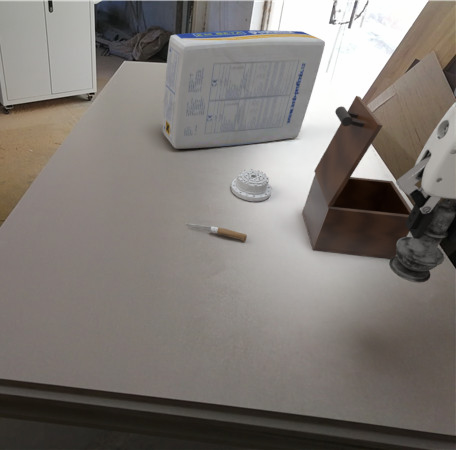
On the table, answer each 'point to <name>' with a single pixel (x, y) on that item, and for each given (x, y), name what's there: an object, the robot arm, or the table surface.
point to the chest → (357, 218)
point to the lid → (346, 148)
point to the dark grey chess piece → (423, 247)
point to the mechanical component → (251, 186)
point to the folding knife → (220, 231)
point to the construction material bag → (238, 86)
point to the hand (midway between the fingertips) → (430, 232)
